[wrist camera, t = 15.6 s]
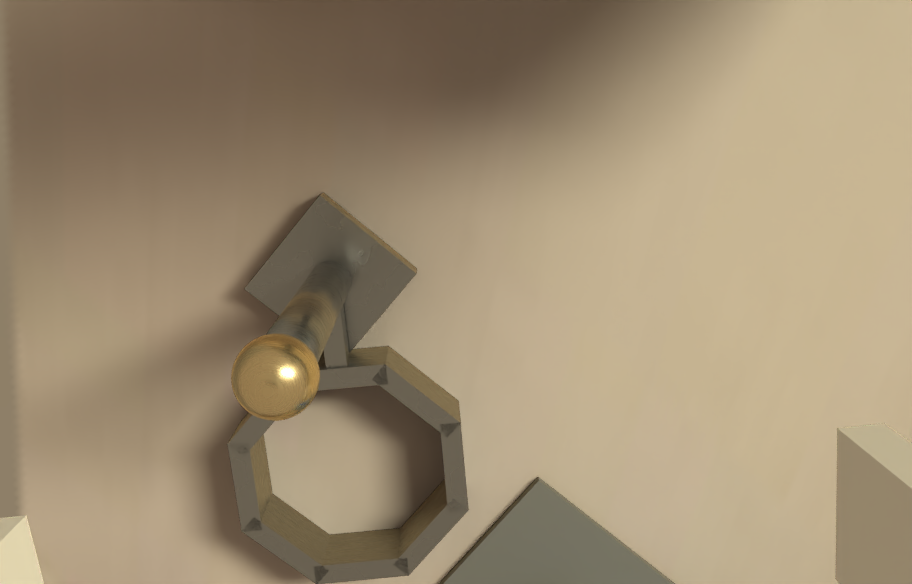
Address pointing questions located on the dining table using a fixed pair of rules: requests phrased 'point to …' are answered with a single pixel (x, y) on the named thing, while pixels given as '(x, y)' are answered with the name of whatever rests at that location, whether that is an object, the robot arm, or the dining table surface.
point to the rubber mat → (550, 548)
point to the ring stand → (340, 366)
